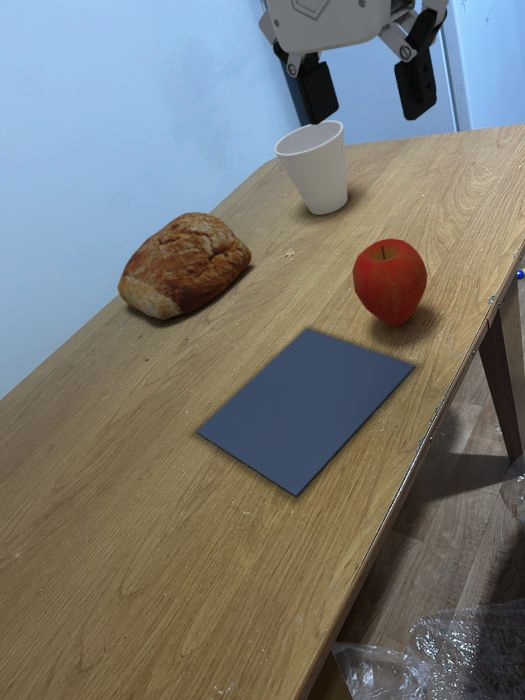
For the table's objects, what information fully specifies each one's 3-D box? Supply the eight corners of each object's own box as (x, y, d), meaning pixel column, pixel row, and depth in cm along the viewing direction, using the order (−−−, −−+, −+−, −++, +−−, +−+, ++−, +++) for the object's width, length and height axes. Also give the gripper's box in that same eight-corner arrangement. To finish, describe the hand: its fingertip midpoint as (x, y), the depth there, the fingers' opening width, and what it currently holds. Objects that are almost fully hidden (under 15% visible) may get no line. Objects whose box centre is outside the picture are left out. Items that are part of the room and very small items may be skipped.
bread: (259, 265, 94) (237, 211, 88) (178, 335, 86) (147, 280, 80) (187, 248, 108) (163, 201, 102) (112, 307, 101) (81, 259, 95)
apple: (433, 341, 66) (415, 263, 60) (360, 347, 70) (337, 274, 63) (438, 295, 72) (422, 220, 66) (371, 303, 76) (350, 232, 69)
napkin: (415, 367, 64) (415, 365, 64) (296, 497, 56) (295, 495, 56) (307, 329, 76) (306, 328, 76) (197, 433, 68) (196, 431, 68)
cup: (287, 226, 101) (263, 160, 93) (308, 191, 108) (287, 128, 101) (351, 218, 95) (331, 146, 87) (369, 182, 102) (351, 114, 95)
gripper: (182, -94, 41) (266, 139, 50) (373, -203, 28) (437, 135, 38) (256, -125, 44) (322, 100, 53) (459, -237, 31) (498, 85, 41)
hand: (369, 115), depth 45 cm, fingers open, 9 cm apart
